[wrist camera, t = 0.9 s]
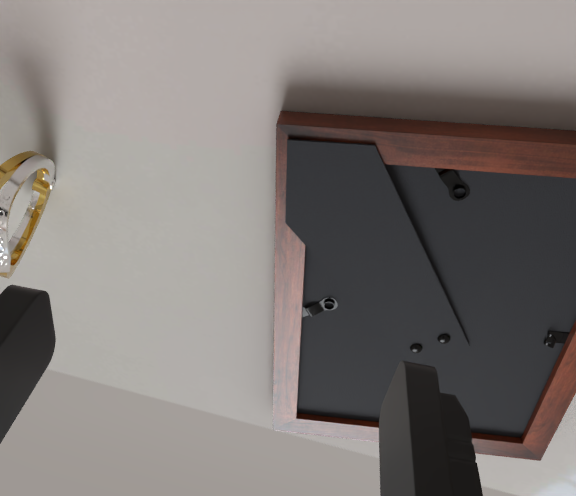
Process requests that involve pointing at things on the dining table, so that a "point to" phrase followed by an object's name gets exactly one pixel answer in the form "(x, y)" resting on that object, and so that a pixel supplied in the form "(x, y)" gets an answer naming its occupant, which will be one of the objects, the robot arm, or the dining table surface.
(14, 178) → the ring
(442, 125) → the picture frame
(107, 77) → the dining table surface
